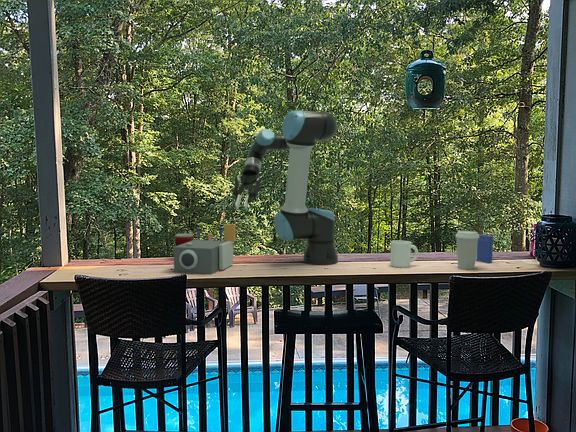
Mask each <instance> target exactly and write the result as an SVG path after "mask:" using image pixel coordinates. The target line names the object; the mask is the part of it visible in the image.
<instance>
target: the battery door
mask: <svg viewBox="0 0 576 432" xmlns="http://www.w3.org/2000/svg"><path fill="white" fill-rule="evenodd" d="M236 227H237V226H236V223H224V224H223V238H224V239H223V241H227V242H225V243H223V244H220V245H219V271H223V270H225V269H227V268H229V267H230V266H232V265H234V242H237V241H236V238H237V237H236V235H237V234H236V232H237V231H236Z"/></svg>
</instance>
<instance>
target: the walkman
mask: <svg viewBox="0 0 576 432" xmlns="http://www.w3.org/2000/svg"><path fill="white" fill-rule="evenodd" d="M478 235H479V238H478V244H477V252H476V259H475V262H479V263H485V264H492V262H493V249H494V248H493V246H494V236H493V235H491V234H479V233H478Z"/></svg>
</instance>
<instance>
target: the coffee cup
mask: <svg viewBox="0 0 576 432" xmlns="http://www.w3.org/2000/svg"><path fill="white" fill-rule="evenodd" d="M478 234H479V232H477V231H473V230H458V231H457V232H456V234H455V239H456V256H457V258H456V259H457V268H458V269H461V270H474V269H475V268H476V267H475V266H476V261H475V259H476V252H477V244H478V238H479V235H480V234H479V235H478Z"/></svg>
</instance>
